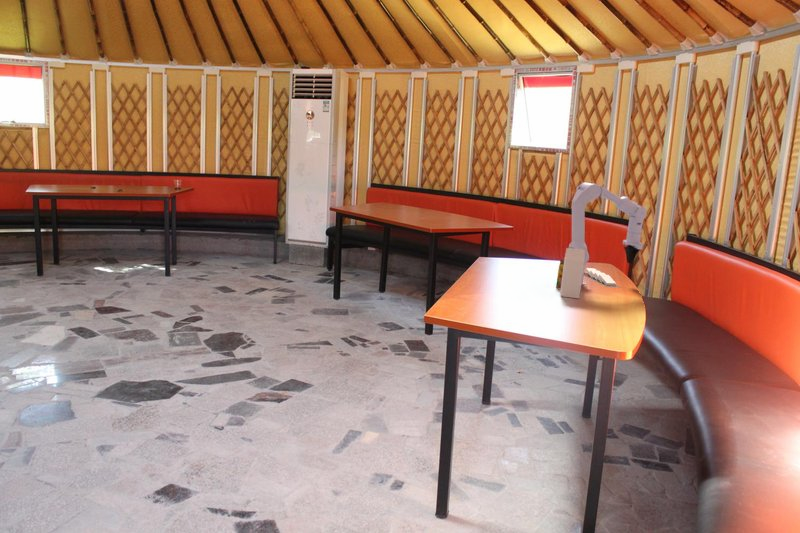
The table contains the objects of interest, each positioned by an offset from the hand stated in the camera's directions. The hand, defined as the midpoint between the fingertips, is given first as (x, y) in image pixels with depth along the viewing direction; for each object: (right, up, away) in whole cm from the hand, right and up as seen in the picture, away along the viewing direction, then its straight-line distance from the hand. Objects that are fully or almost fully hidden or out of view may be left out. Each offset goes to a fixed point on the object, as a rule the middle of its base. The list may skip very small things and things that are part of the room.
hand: (629, 262), depth 284 cm
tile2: (-10, -9, +1) cm, 13 cm away
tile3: (-11, -8, +6) cm, 14 cm away
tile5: (-12, -6, +15) cm, 20 cm away
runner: (-11, -9, +5) cm, 15 cm away
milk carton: (-35, -14, -29) cm, 48 cm away
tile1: (-10, -9, -4) cm, 14 cm away
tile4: (-11, -7, +10) cm, 17 cm away
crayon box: (-33, -11, -15) cm, 38 cm away
